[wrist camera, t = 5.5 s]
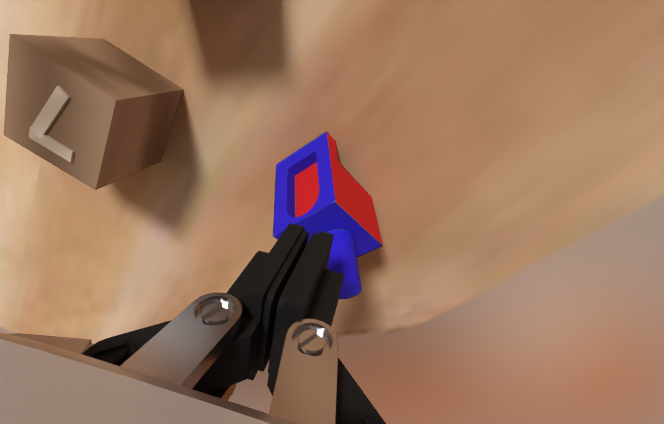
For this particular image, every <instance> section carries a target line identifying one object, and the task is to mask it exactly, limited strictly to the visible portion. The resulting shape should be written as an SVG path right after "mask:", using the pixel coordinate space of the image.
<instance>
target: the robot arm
mask: <svg viewBox="0 0 664 424" xmlns="http://www.w3.org/2000/svg"><path fill="white" fill-rule="evenodd" d="M304 230H305V227H303V226H299V225H296V224H292V223H290V224H289V225H288V226H287V228H286V229H285V231H284V232H283V233H282V235H281V236H280V238H279V239H278V241H277V242H276V244H275V245H274V247H273V248H272V250H271V251H270V252H269V253H266V252H262V251H258V252H257V253H256V254H255V256H254V257H253V258H252V260H251V261H250V262H249V264H248V265H247V266H246V268H245V269H244V270H243V272H242V273H241V274H240V276H239V277H238V278H237V280H236V281H235V282H234V284H233V285H232V286H231V288H230V289H229V290H228V292H227V293H210V294H206V295H203V296H201V297H199V298H198V299H196V300H195V301H194V302H192V303H191V304H190V305H189V306H188V307H187V308H186V309H184V310H183V311H182V312H181V313H180V314H179V315H178V316H177V317H175V318H174V319H173V320H171V321H167V322H164V323H160V324H157V325H153V326H149V327H146V328H142V329H139V330H135V331H132V332H128V333H124V334H121V335H117V336H114V337H110V338H107V339H104V340H102V341H99V342H97V343H96V344H92V343H91V340H90V339H78V338H67V337H55V336H43V335H32V334H20V333H17V334H5V333H0V424H386V423H385V422H384V420H383V419H382V418H381V416H380V415H379V413H378V412H377V411H376V409H375V408H374V407H373V405H372V404H371V403H370V401H369V400H368V398H367V397H366V395H365V394H364V393H363V391H362V390H361V389H360V387H359V386H358V385H357V383H356V382H355V380H354V379H353V378H352V376H351V375H350V373H349V372H348V370H347V369H346V368H345V366H344V365H343V364H342V362H341V361H340V359H339V358H338V337H337V335H336V333H335V331H334V330H333V329H332V328H331V325H332V322H333V318H334V314H335V310H336V307H337V303H338V299H339V295H340V291H341V287H342V283H343V279H344V275H345V274H342V273H339V272H335V271H331V270H328V269H327V266H328V261H329V256H330V252H331V247H332V243H333V238H334V234H330V233H326V232H322V231H319V233H318V234H315V233H313V234H312V236H311V238H310V240H309V241H308V237H309V232H307V231H304ZM307 242H308V243H307ZM269 359H270V361H269ZM268 361H269V369H268V373H269V377H268V384H267V385H268V388H269V389H270V392H271V394H272V396H273V398H272V403H271V407H270V412H269V414H267V413H264V412H261V411H258V410H255V409H252V408H248V407H245V406H242V405H239V404H236V403H233V402H230V401H228V399H229V398H230V396H231V395H232V394H233V392H234V390H235V388H236V383H238V382H241V381H243V380H245V379H250V380H253V379H254V378H255V375H256V373H257V371H258V370H260V371H264V369H265V367H266V365H267V363H268Z"/></svg>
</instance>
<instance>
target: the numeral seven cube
mask: <svg viewBox="0 0 664 424" xmlns="http://www.w3.org/2000/svg"><path fill="white" fill-rule="evenodd" d="M182 93H183V89H182V88H180V87H179V86H177V85H176V84H174V83H172V82H171V81H169V80H168V79H166V78H165V77H163V76H161V75H160V74H158V73H157V72H155V71H153V70H152V69H150V68H149V67H147V66H146V65H144V64H142V63H141V62H139V61H138V60H136V59H135V58H133V57H131V56H130V55H128V54H127V53H125V52H123V51H122V50H120V49H119V48H117V47H116V46H114V45H112V44H111V43H109V42H108V41H106V40H105V39H93V38H74V37H55V36H35V35H16V34H10V41H9V57H8V74H7V90H6V106H5V123H4V135H5V136H6V137H8V138H10V139H11V140H13V141H15V142H16V143H18V144H20V145H21V146H23V147H25V148H26V149H28V150H30V151H31V152H33V153H35V154H36V155H38V156H40V157H41V158H43V159H45V160H46V161H48V162H50V163H51V164H53V165H55V166H56V167H58V168H60V169H61V170H63V171H65V172H66V173H68V174H70V175H71V176H73V177H75V178H76V179H78V180H80V181H81V182H83V183H85V184H86V185H88V186H90V187H91V188H93V189H95V190H97V189H99V188H101V187H103V186H106V185H108V184H110V183H113V182H115V181H117V180H119V179H122V178H124V177H126V176H129V175H131V174H133V173H135V172H138V171H140V170H142V169H145V168H147V167H149V166H151V165H154V164H156V163H158V162H160V160H161V157H162V154H163V151H164V148H165V145H166V142H167V139H168V136H169V133H170V129H171V126H172V123H173V120H174V117H175V114H176V111H177V108H178V105H179V102H180V99H181V96H182Z"/></svg>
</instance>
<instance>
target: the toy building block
mask: <svg viewBox="0 0 664 424" xmlns="http://www.w3.org/2000/svg"><path fill="white" fill-rule="evenodd" d="M290 223H292V224H296V225H299V226H303V227H305V230H304V231H307V232H309V237H308V241H309V240H310V238H311V236H312V234H313V233H315V234H318V233H319V231H322V232H326V233H330V234H334V238H333V243H332V247H331V252H330V256H329V261H328V266H327V269H328V270H331V271H335V272H339V273H342V274H345V275H344V279H343V283H342V287H341V291H340V295H339V299H348V298H352V297H354V296H356V295H358V294H359V293H360V292H361V282H360V276H359V270H358V263H357V257H360V256H362V255H364V254H366V253H368V252H370V251H373V250H375V249H377V248H379V247H381V246H383V245H382V241H381V236H380V232H379V228H378V223H377V219H376V214H375V210H374V206H373V201H372V197H371V196H370V195H369V194H368V193H367V192H366V191H365V190H364V189H363V187H362V186H361V185H360V184H359V183H358V182H357V181H356V180H355V179H354V178H353V177H352V176H351V175H350V173H349V172H348V171H347V170H346V169H345V168H344V167H343V166H342V165H341V164H340V163H339V161H338V155H337V148H336V141H335V140H334V139H333V138H332V137H331V136H330V135H329V133H328V132H327V131H326V132H325V133H323V134H322V135H320V136H319V137H317V138H316V139H314V140H313V141H311V142H310V143H308V144H307V145H305V146H304V147H302V148H300V149H299V150H297V151H296V152H294V153H293V154H291V155H290V156H288V157H287V158H285V159H284V160H282V161H281V162H279V163H278V164H276V180H275V202H274V224H273V237H275V238H276V239H279V238H280V236H281V235H282V233H283V232H284V231H285V229H286V228H287V226H288V225H289V224H290ZM307 243H308V242H307Z"/></svg>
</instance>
